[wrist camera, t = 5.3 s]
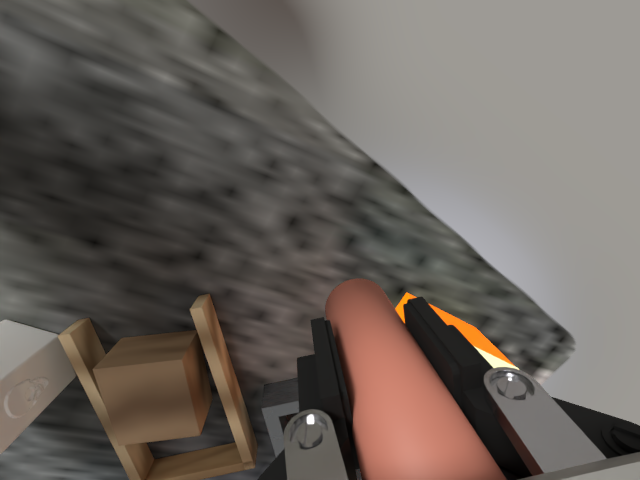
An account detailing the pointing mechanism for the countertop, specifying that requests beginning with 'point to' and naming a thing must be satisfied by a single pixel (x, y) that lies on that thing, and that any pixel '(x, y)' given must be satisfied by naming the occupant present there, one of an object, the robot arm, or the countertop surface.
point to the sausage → (399, 396)
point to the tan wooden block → (155, 387)
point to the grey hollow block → (279, 409)
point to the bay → (142, 469)
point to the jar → (28, 376)
